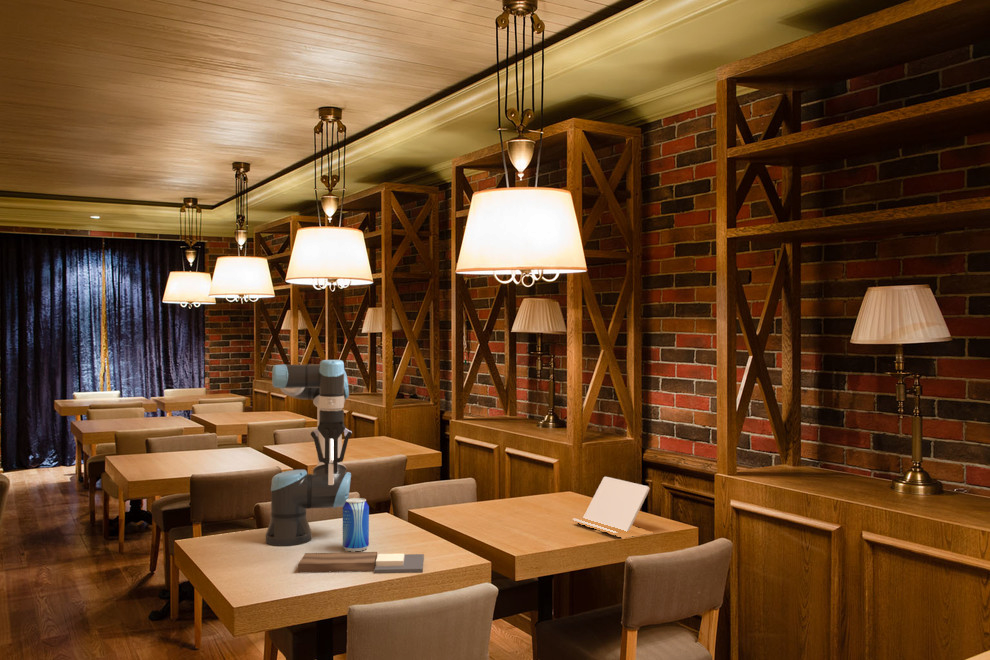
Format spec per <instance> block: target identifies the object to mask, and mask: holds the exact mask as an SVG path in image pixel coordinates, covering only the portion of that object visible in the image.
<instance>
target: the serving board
mask: <svg viewBox="0 0 990 660" xmlns="http://www.w3.org/2000/svg"><path fill="white" fill-rule="evenodd" d="M303 554H304V555H303V556H302V557H301V559H300V561H299V562H298V563H297V573H298V572H311V573H340V572H339V571H362V572H374V570H375V566H376V559H377V556H378V551H361V552H348V551H345V552H344V551H343V552H341V551H340V552H305V553H303ZM329 571H331V572H329ZM337 571H338V572H337Z"/></svg>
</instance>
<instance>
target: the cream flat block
mask: <svg viewBox="0 0 990 660" xmlns="http://www.w3.org/2000/svg"><path fill="white" fill-rule="evenodd" d="M404 554H405V553H377V559H376V566H403V563H404Z"/></svg>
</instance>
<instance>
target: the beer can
mask: <svg viewBox="0 0 990 660" xmlns="http://www.w3.org/2000/svg"><path fill="white" fill-rule="evenodd" d="M369 545H370V506H369V504H368V502H367V499H366V498H361V497H353V498H348V499H347V500H346V503H345V504H344V506H343V507H342V547H343V549H344V550H346V551H345V552H348V551H351V552H355V551H361V552H363V551H362V550H364V551H366V550H367V548H369ZM365 549H366V550H365Z"/></svg>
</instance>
